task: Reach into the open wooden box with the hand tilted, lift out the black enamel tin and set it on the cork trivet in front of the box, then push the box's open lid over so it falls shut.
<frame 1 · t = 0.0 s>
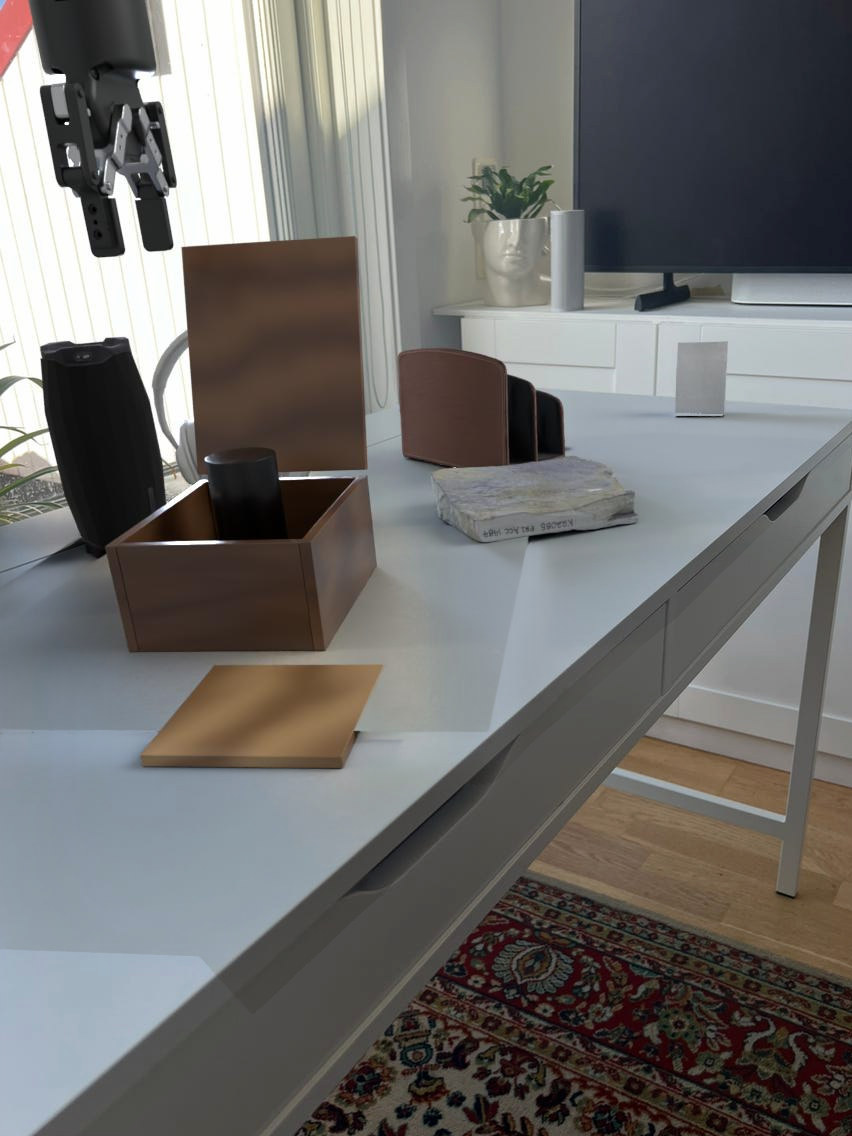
hand: (135, 253, 71), 27 cm above the table, tool pointing down, fingers open, 8 cm apart
grey rectangular block: (700, 415, 137), on the table
trivet: (273, 717, 60), on the table
headphones: (257, 501, 109), on the table
lid: (275, 359, 79), point 18 cm above the table, hinge at 105.1°
fossil: (535, 515, 98), on the table
tin: (264, 604, 76), point 1 cm above the table, touching wooden box
portable speaker: (128, 548, 95), on the table
wooden box: (265, 613, 76), on the table
letter holder: (481, 462, 119), on the table
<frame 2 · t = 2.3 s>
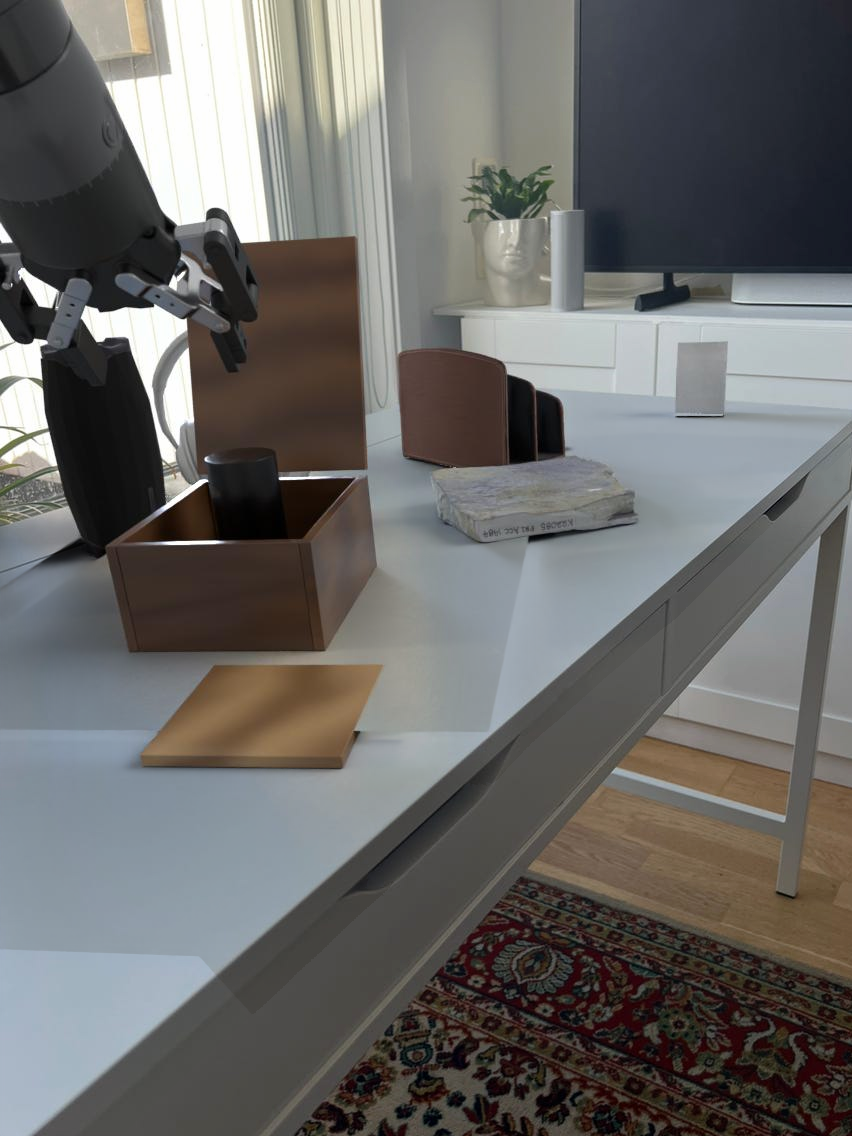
hand: (167, 368, 60), 20 cm above the table, tool tilted 40°, fingers open, 8 cm apart
nothing on the table moved.
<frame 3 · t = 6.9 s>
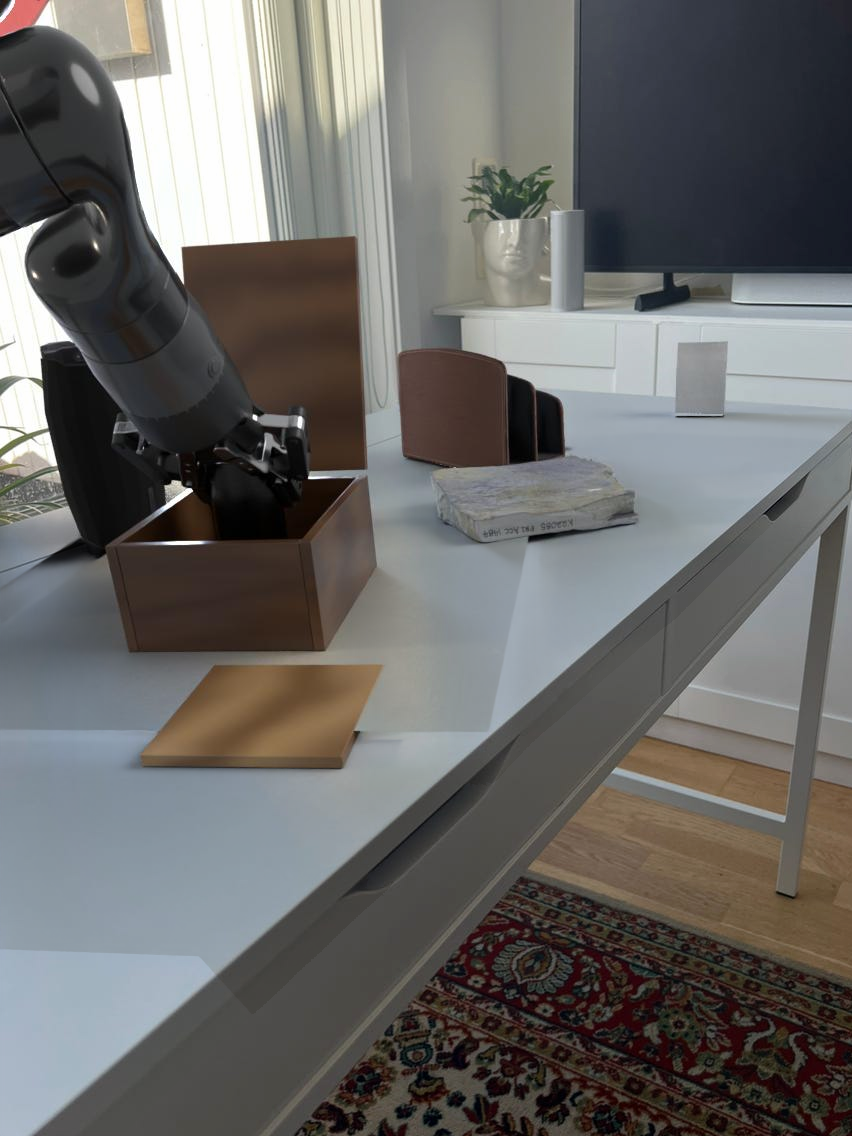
hand: (255, 498, 74), 9 cm above the table, tool tilted 45°, fingers closed on tin, 5 cm apart
tin: (264, 604, 76), point 1 cm above the table, touching gripper, wooden box
everything else where it was.
when the fingers open (9 cm above the table, at t = 16.2 s): tin stays where it is, resting on trivet.
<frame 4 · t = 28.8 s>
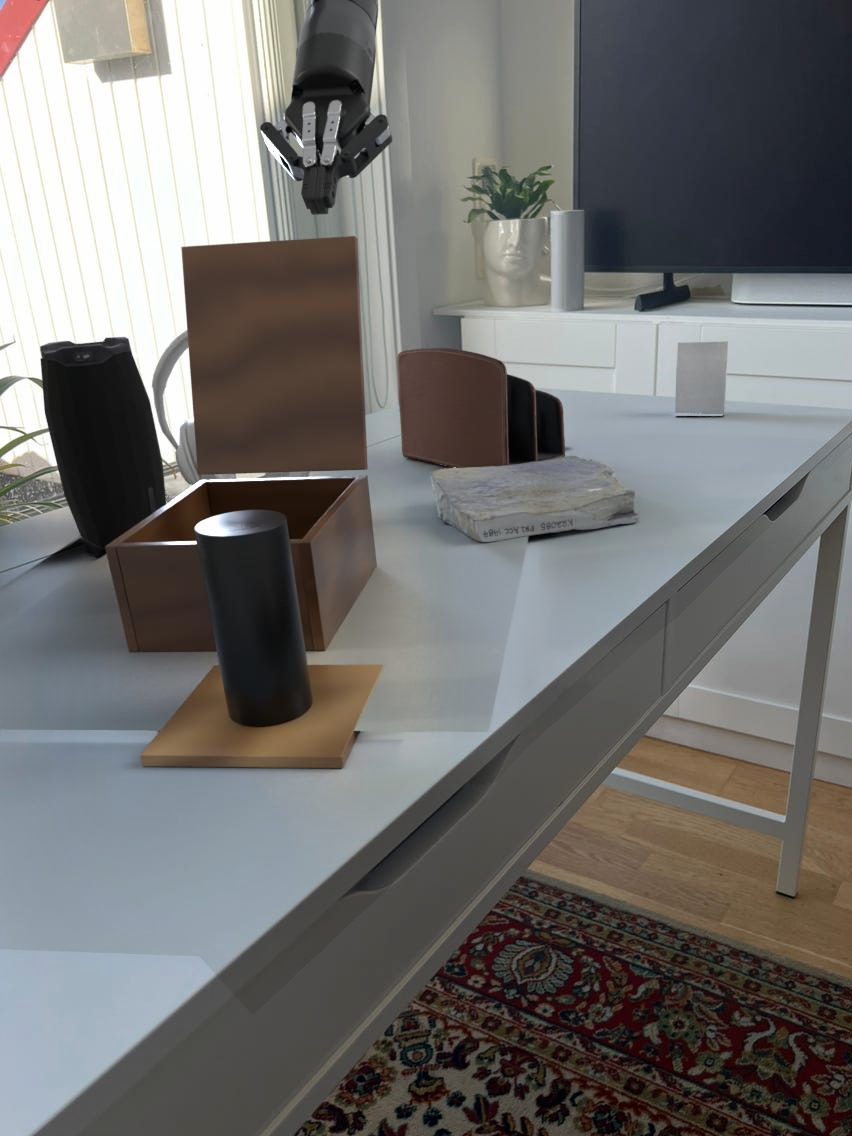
hand: (316, 207, 88), 29 cm above the table, tool tilted 45°, fingers closed
tin: (271, 706, 60), point 1 cm above the table, touching trivet
everything else where it was.
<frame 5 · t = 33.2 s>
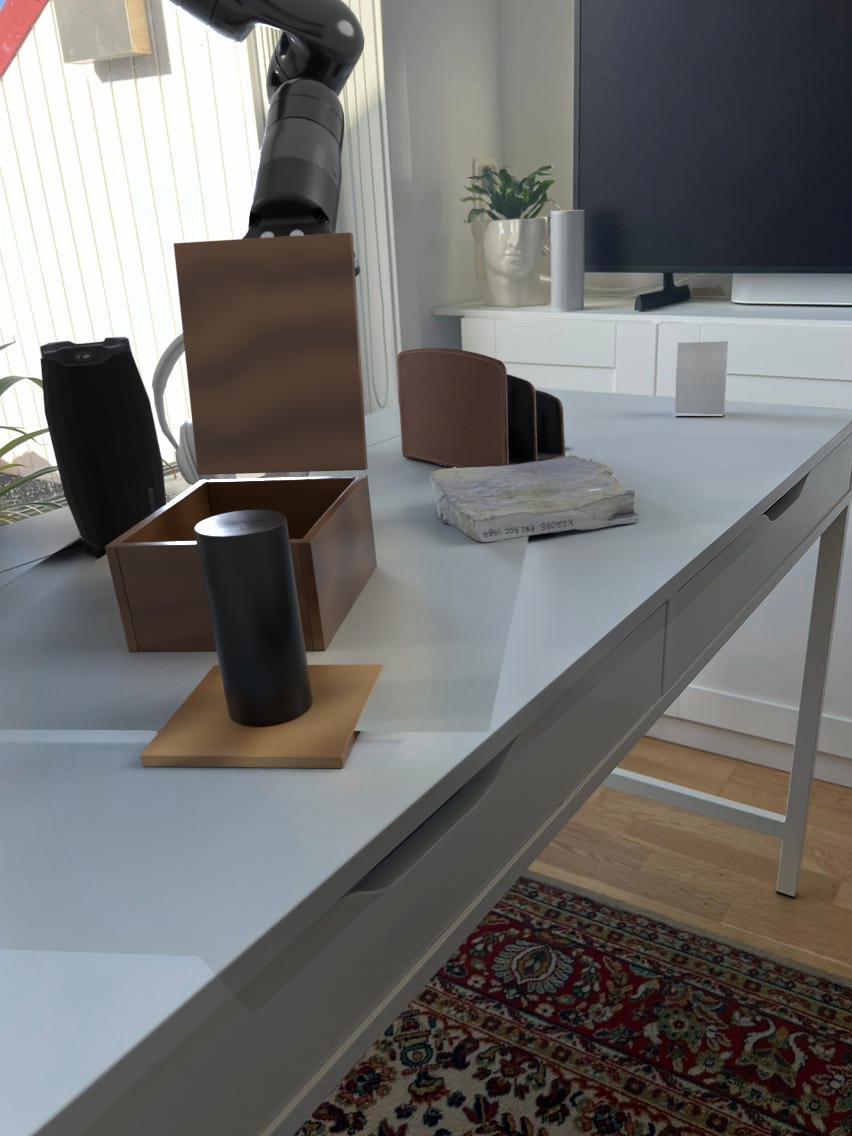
hand: (275, 348, 79), 19 cm above the table, tool tilted 45°, fingers closed
lid: (272, 358, 78), point 18 cm above the table, hinge at 100.4°
everything else where it was.
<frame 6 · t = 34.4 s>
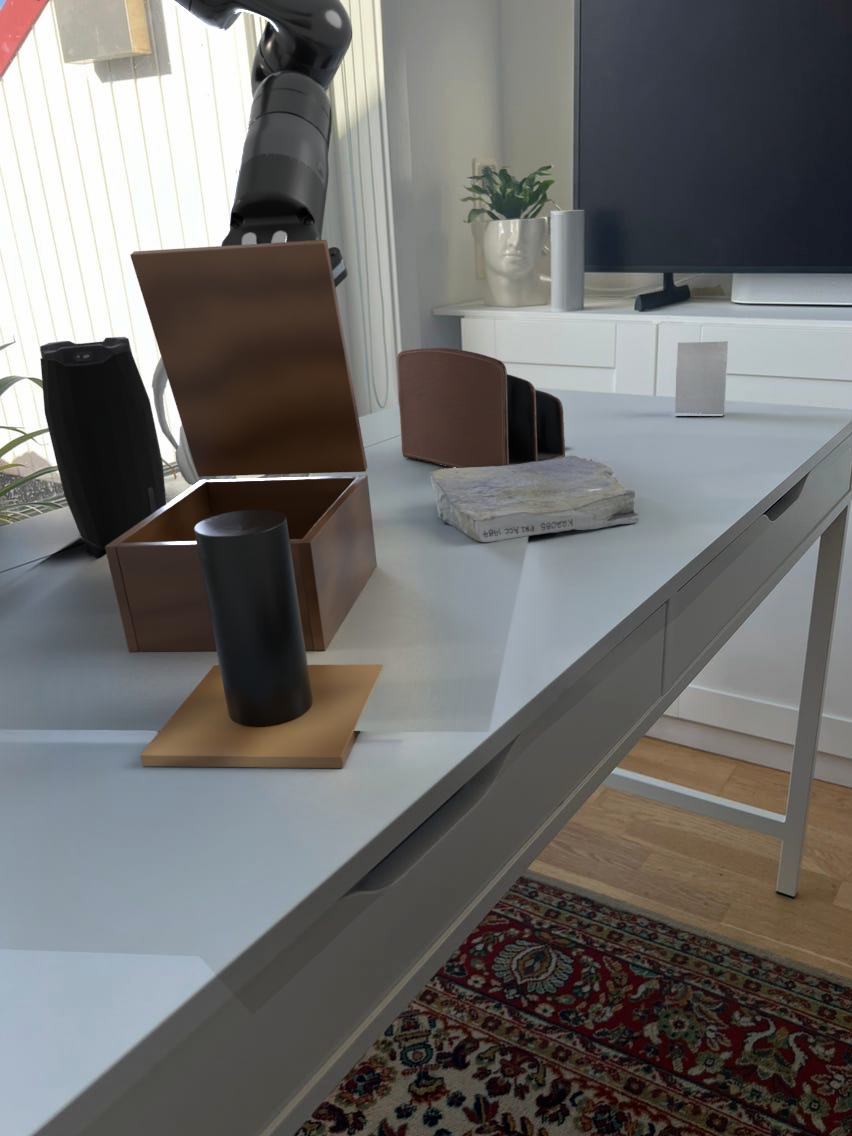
hand: (257, 356, 75), 19 cm above the table, tool tilted 45°, fingers closed
lid: (256, 368, 75), point 18 cm above the table, hinge at 74.8°
everything else where it was.
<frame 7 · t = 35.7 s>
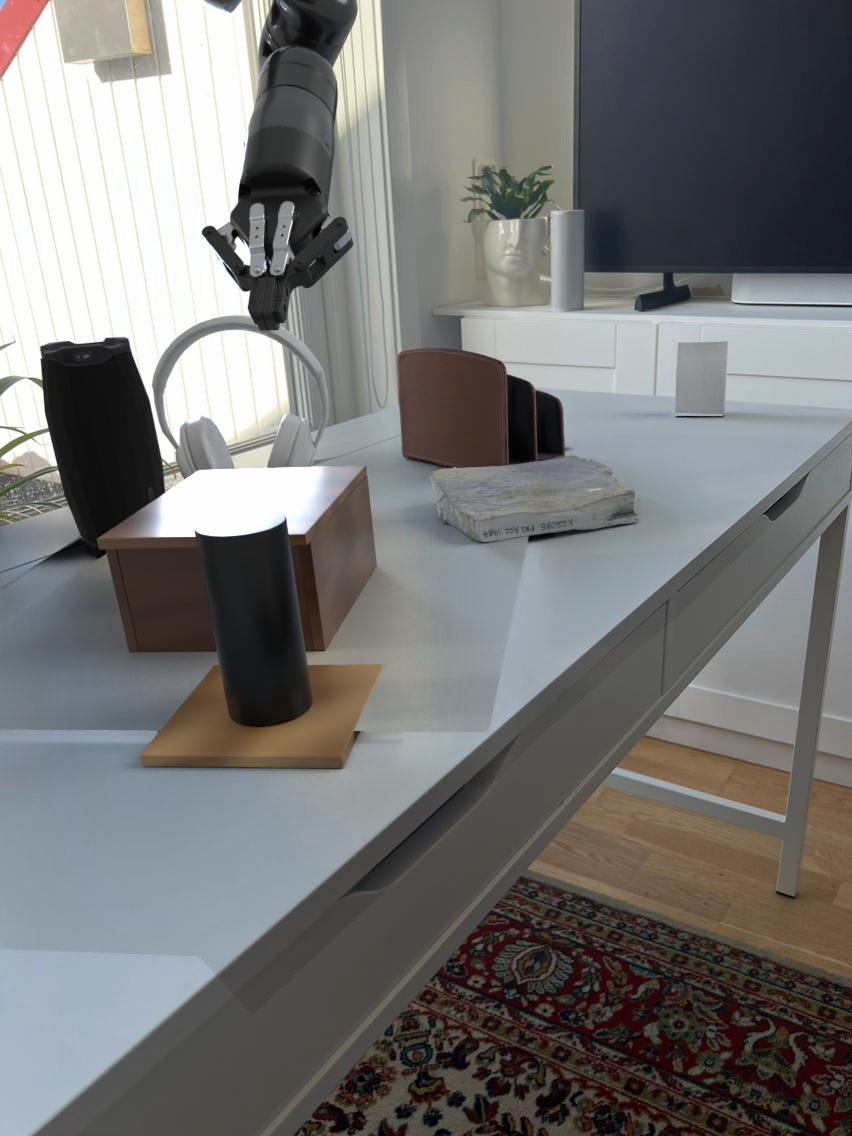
hand: (265, 324, 77), 21 cm above the table, tool tilted 45°, fingers closed
lid: (245, 503, 72), point 9 cm above the table, hinge at -0.1°
everything else where it was.
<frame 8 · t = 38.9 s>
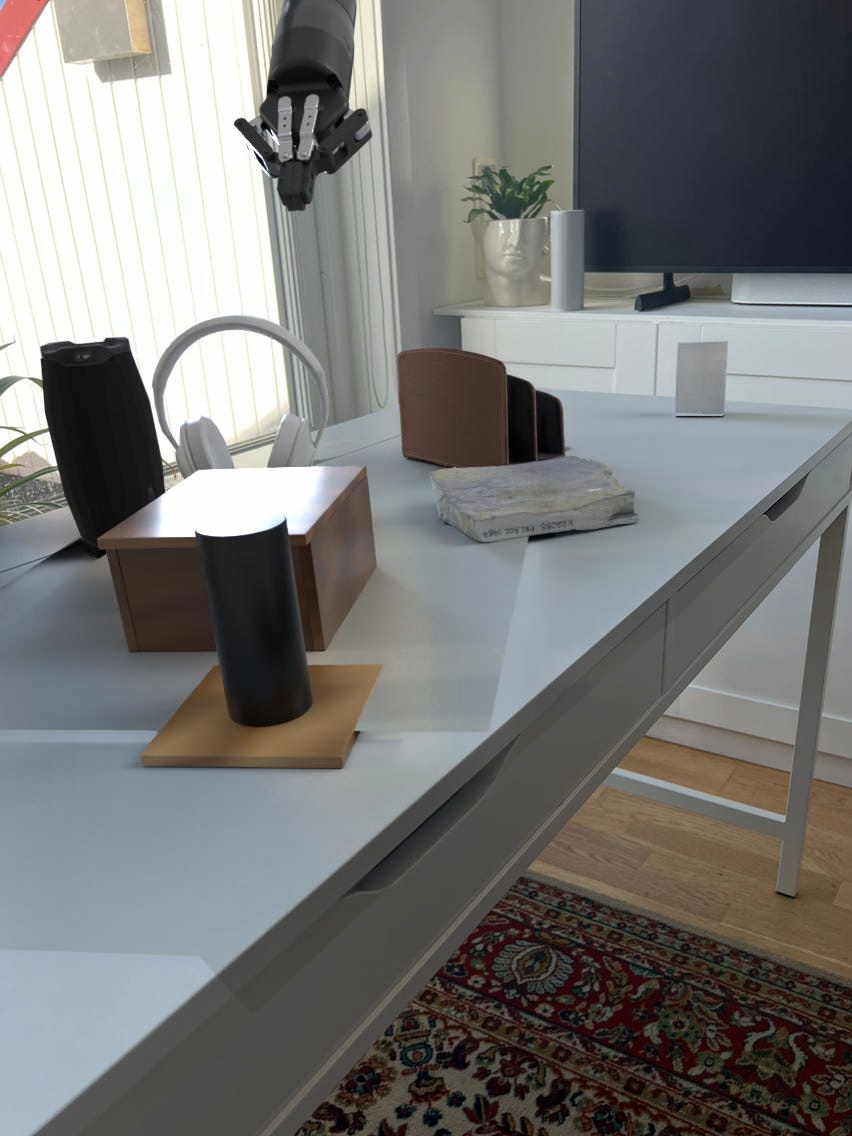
hand: (293, 203, 84), 30 cm above the table, tool tilted 45°, fingers closed
nothing on the table moved.
at the end: tin inside the target area on the trivet (0.1 cm from its centre), point 0.8 cm above the trivet's base; tin tilted 0°; lid at +0° (first picture: +105°) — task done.
